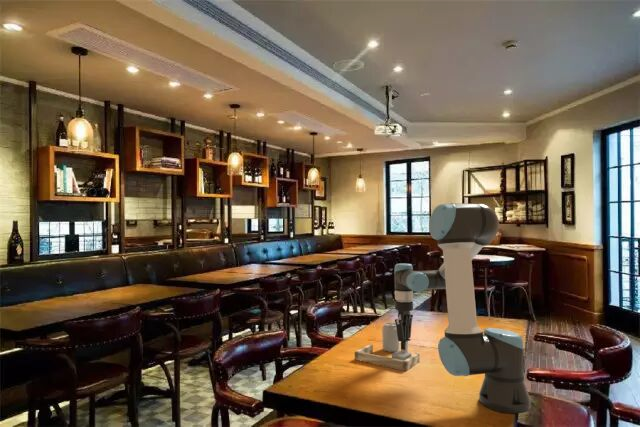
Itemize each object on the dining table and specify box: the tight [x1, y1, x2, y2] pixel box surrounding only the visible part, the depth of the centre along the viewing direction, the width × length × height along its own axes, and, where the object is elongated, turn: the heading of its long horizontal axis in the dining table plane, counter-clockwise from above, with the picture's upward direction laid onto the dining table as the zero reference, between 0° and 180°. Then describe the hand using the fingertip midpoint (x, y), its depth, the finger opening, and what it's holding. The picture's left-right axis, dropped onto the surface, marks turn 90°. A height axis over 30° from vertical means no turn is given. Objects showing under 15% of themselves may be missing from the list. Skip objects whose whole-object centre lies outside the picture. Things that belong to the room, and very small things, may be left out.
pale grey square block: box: [391, 350, 412, 360], centre depth 176 cm, size 6×6×4 cm
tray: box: [354, 344, 420, 372], centre depth 178 cm, size 13×24×4 cm, turn 54°
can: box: [381, 322, 400, 353], centre depth 193 cm, size 8×8×12 cm
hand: (404, 356), depth 179 cm, fingers closed
